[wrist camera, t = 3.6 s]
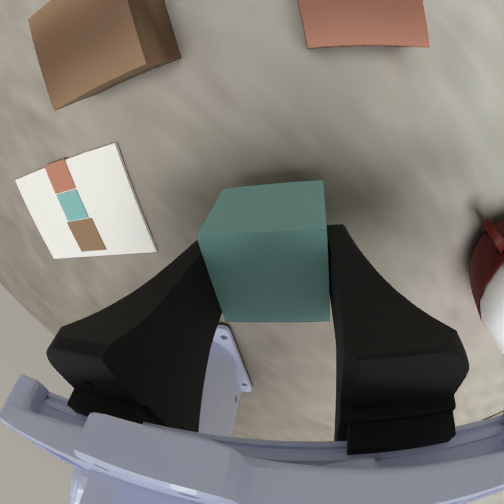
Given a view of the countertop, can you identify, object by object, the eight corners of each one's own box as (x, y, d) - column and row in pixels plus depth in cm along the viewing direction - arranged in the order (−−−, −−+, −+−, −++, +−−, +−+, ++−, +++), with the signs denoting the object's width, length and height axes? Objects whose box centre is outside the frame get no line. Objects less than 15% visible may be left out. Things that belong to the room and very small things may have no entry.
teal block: (328, 261, 14) (329, 321, 11) (242, 265, 15) (225, 321, 12) (323, 180, 11) (326, 228, 9) (223, 188, 12) (196, 236, 10)
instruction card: (157, 249, 18) (156, 253, 18) (55, 256, 21) (53, 259, 20) (116, 140, 14) (113, 142, 14) (16, 177, 16) (13, 179, 16)
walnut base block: (182, 58, 11) (146, 63, 9) (98, 93, 13) (54, 111, 10) (156, -30, 9) (115, -44, 6) (75, 15, 10) (28, 19, 7)
